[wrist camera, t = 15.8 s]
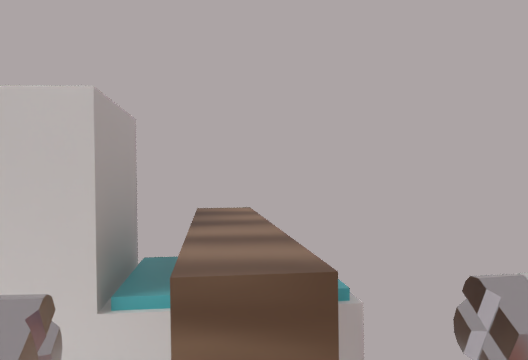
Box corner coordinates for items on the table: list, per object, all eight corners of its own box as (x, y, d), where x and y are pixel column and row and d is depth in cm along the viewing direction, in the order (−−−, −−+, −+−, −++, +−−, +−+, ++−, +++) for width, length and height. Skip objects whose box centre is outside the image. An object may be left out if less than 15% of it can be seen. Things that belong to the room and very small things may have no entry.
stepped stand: (367, 645, 23) (360, 87, 23) (-144, 707, 20) (-156, 84, 20) (313, 484, 35) (308, 118, 35) (-13, 511, 32) (-20, 119, 32)
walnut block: (339, 395, 12) (337, 271, 12) (171, 406, 11) (169, 277, 11) (250, 246, 38) (249, 207, 38) (197, 247, 37) (197, 208, 37)
